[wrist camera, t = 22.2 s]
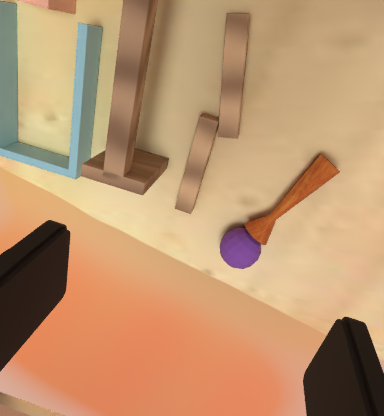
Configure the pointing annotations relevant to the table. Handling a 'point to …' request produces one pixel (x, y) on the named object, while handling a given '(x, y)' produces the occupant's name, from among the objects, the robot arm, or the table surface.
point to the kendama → (272, 218)
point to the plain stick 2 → (233, 73)
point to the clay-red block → (55, 4)
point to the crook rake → (128, 107)
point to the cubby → (82, 99)
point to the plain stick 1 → (197, 162)
